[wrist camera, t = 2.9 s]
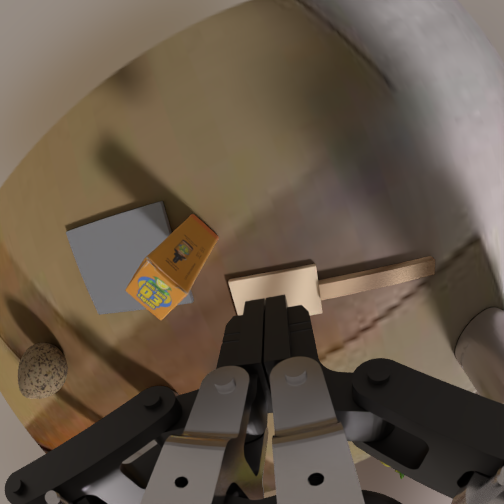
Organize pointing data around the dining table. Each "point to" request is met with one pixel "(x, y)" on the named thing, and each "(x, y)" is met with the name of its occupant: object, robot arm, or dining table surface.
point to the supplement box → (172, 267)
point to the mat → (118, 254)
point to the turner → (322, 283)
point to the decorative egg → (41, 371)
